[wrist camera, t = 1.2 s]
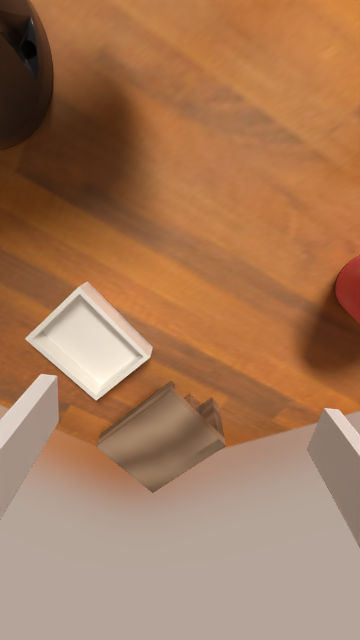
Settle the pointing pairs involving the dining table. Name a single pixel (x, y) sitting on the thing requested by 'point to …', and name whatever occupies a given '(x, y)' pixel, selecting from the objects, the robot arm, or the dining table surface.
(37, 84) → the robot arm
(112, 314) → the tray
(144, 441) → the shelf
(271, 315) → the dining table surface
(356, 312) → the flower pot
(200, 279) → the dining table surface
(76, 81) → the dining table surface
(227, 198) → the dining table surface
